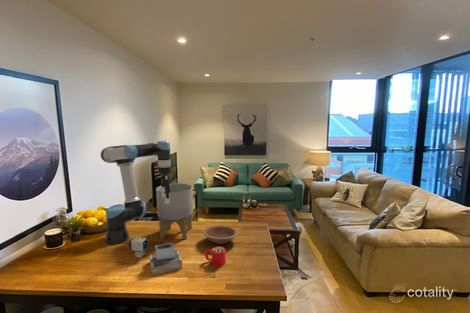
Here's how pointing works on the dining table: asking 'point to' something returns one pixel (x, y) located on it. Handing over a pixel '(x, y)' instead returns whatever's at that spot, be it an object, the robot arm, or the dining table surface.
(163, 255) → the housing
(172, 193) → the planter
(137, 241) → the pneumatic valve
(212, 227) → the bowl
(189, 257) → the dining table surface
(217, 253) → the mug
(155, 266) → the stand
